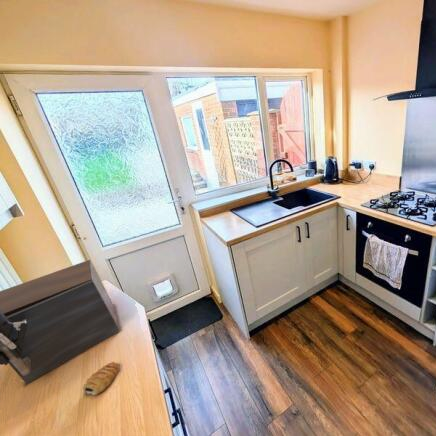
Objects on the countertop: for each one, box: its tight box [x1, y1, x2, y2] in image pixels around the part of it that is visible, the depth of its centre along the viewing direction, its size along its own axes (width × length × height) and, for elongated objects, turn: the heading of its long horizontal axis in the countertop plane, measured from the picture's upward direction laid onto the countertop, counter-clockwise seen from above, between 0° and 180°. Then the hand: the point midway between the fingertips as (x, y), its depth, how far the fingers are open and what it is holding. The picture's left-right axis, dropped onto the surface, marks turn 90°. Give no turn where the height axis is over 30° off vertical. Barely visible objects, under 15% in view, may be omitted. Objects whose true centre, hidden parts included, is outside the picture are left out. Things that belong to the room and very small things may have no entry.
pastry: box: [82, 361, 120, 396], centre depth 76 cm, size 9×7×4 cm
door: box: [0, 280, 120, 385], centre depth 80 cm, size 7×26×24 cm, turn 135°
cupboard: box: [0, 259, 120, 330], centre depth 90 cm, size 18×26×24 cm
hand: (13, 359), depth 70 cm, fingers closed on door, 2 cm apart
